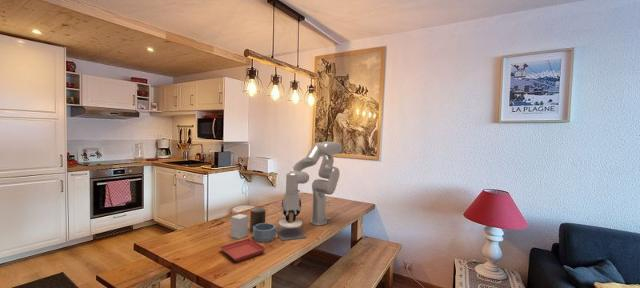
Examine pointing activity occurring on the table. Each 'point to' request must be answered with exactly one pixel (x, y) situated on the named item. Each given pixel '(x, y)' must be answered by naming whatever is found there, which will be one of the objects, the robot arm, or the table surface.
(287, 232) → the mat
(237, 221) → the supplement box
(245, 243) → the plant saucer
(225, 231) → the table surface
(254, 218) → the grey cylinder
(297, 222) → the lid
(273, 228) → the bowl
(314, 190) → the robot arm
